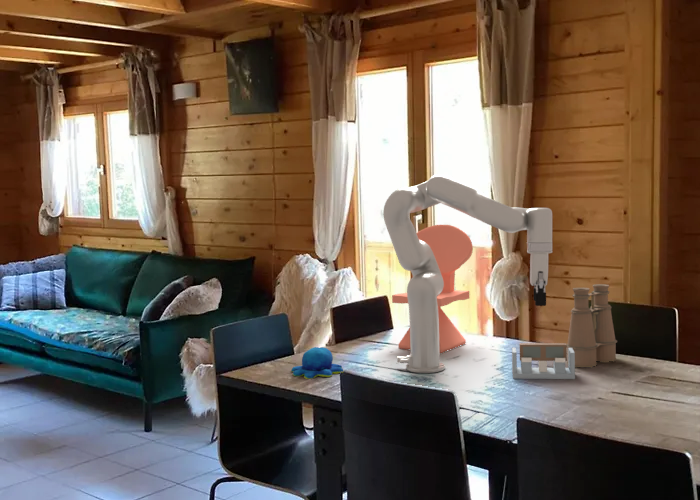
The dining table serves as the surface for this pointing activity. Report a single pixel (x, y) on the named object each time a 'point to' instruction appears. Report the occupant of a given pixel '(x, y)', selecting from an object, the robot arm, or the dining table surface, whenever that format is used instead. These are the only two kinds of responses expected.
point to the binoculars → (592, 327)
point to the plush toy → (317, 364)
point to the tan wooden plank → (543, 351)
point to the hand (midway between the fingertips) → (539, 303)
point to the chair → (444, 279)
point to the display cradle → (544, 368)
